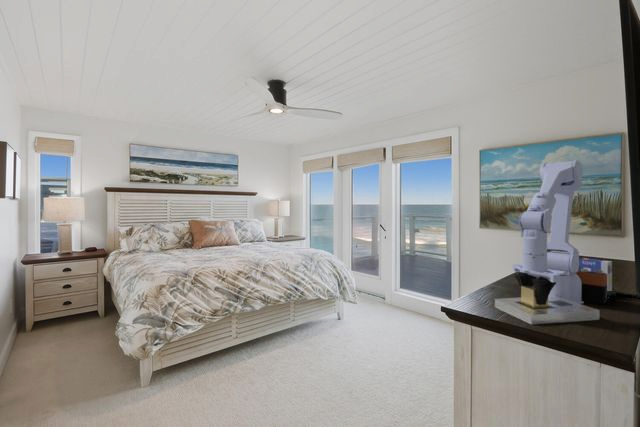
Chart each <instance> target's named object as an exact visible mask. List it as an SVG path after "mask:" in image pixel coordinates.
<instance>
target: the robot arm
mask: <svg viewBox="0 0 640 427" xmlns="http://www.w3.org/2000/svg"><path fill="white" fill-rule="evenodd" d="M583 173H584V172H583V165H582V163H581V161H580V160H579V159H575V160H569V161H568V160H567V161H558V162H549V163H548V162H544V163H542V164H541V166H540V168H539V176H540V180H541V182H542V184H541V187H540V190H539V192H537V193H535V194H533V196H532V199H531V201H530V203H529V205H528V207H527V210H526V211H524V212H521V213H520V215H519V218H518V227H519V229H520V237H521V238H522V264H517V263H516V264H512V272H518V273H516V274H514V278H515V279H516V280H517V283H518V285H519V287H520V288H521V286H528V285H534V286H535V290H536V298H537V304H538V305H546V302H547V299H548V296H554V295H555V296H558V297H561V298H564V299H567V300H570V301H573V302H576V303H579V304H584V303H585V301H581V293H582V283H581V279H580V278H579V276H578V275H577V272H578V271H579V270H580V252H579V250H578V248H577V247H576V246H574V245H573V244H571V243H570V242H569V240H570V230H571V218H572V207H573V199H574V194H575V191H577V190H579V189H581V185H582V181H583ZM549 232H550V236H549V241H548V233H549Z"/></svg>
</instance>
